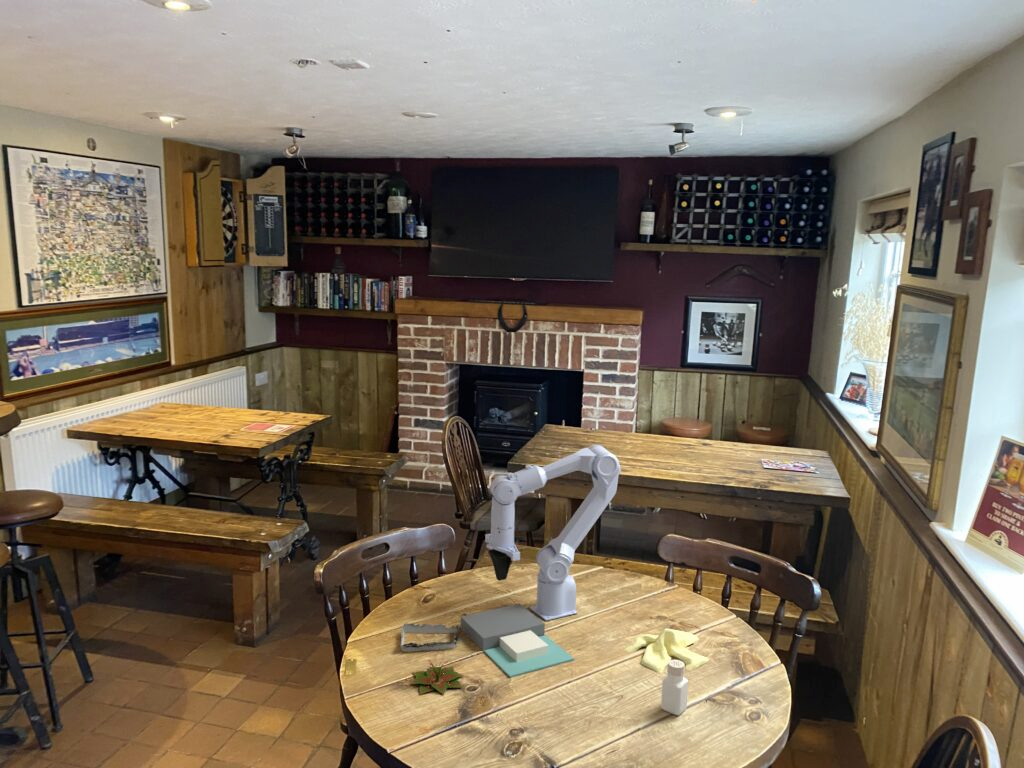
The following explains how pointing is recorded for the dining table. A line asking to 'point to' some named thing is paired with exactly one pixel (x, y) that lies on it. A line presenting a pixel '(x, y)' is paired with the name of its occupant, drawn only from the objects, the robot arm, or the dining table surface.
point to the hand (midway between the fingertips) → (501, 579)
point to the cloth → (667, 649)
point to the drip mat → (522, 667)
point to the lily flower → (437, 678)
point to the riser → (500, 625)
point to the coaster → (523, 645)
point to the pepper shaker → (674, 688)
